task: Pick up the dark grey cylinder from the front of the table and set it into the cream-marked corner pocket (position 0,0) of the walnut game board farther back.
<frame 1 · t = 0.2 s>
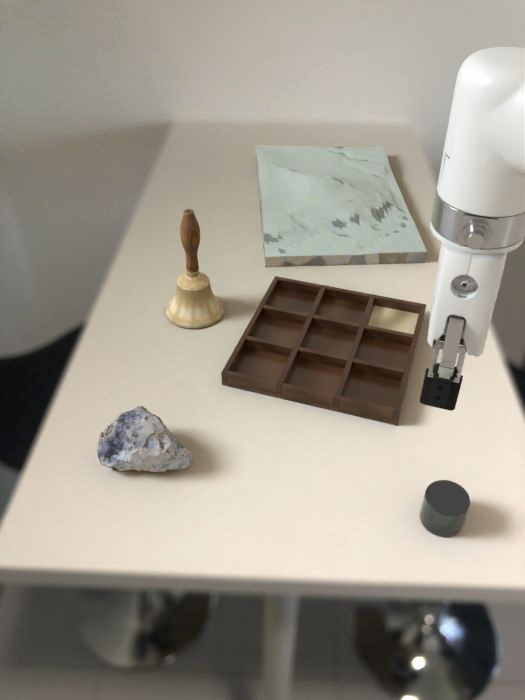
hand: (443, 371, 66), 14 cm above the table, tool pointing down, fingers open, 9 cm apart
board: (328, 348, 90), on the table
hand bell: (195, 312, 96), on the table
decorative slab: (324, 205, 119), on the table
mineral specimen: (143, 460, 75), on the table
dark grey cylinder: (441, 518, 69), on the table
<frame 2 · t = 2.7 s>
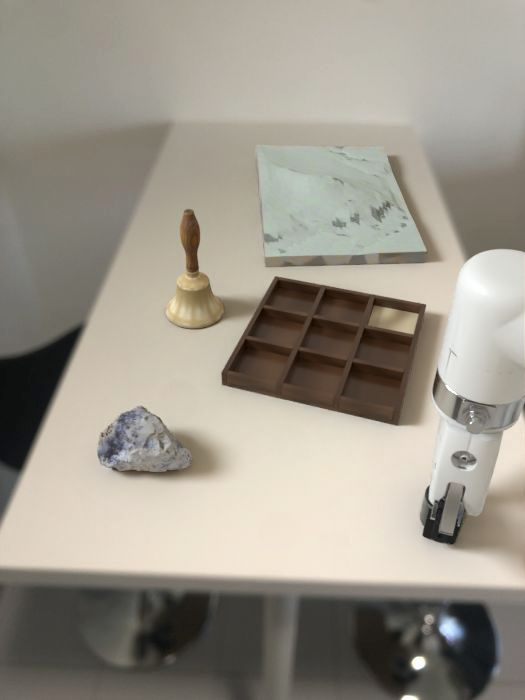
hand: (441, 516, 69), 0 cm above the table, tool pointing down, fingers closed on dark grey cylinder, 4 cm apart
dark grey cylinder: (441, 519, 69), on the table, touching gripper
everything else where it was.
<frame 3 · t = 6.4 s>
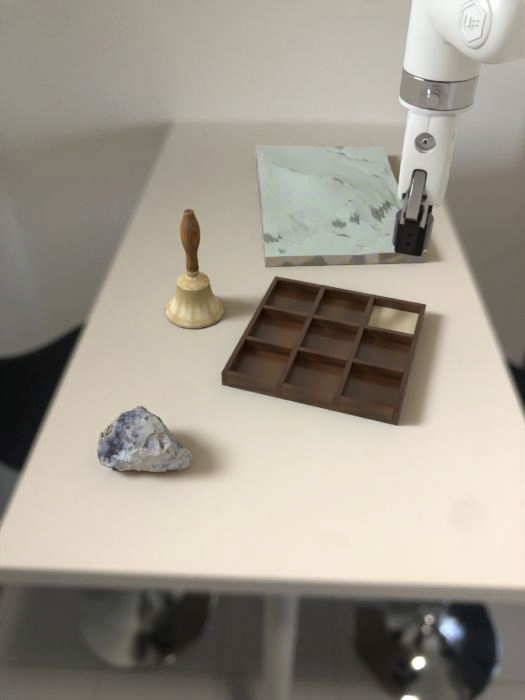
hand: (411, 240, 81), 16 cm above the table, tool pointing down, fingers closed on dark grey cylinder, 4 cm apart
dark grey cylinder: (410, 243, 81), point 15 cm above the table, touching gripper
everything else where it was.
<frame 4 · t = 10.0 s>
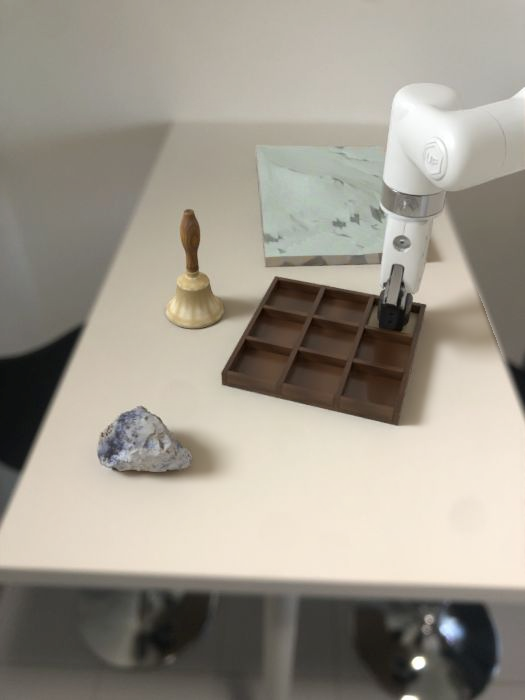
hand: (393, 316, 92), 2 cm above the table, tool pointing down, fingers closed on dark grey cylinder, 4 cm apart
dark grey cylinder: (392, 318, 92), point 2 cm above the table, touching gripper
everything else where it was.
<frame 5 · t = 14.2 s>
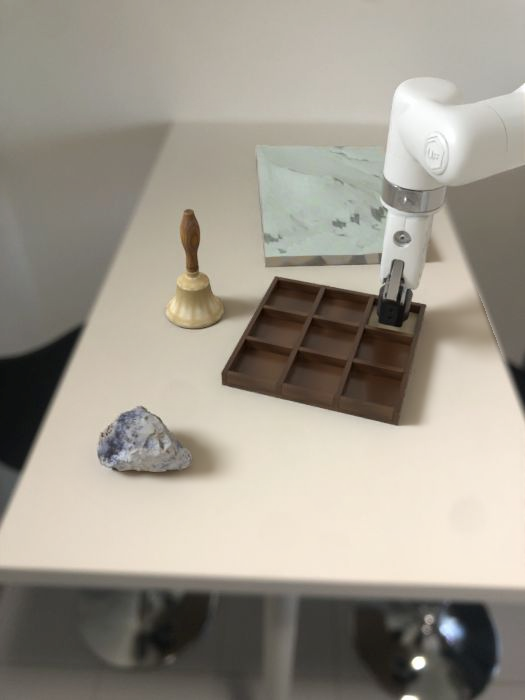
hand: (393, 311, 91), 3 cm above the table, tool pointing down, fingers closed on dark grey cylinder, 4 cm apart
dark grey cylinder: (392, 313, 92), point 2 cm above the table, touching gripper
everything else where it was.
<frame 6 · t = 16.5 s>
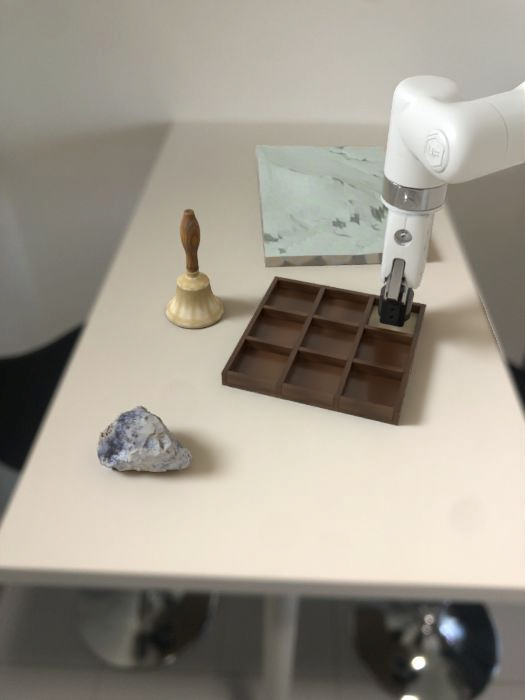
hand: (395, 311, 91), 3 cm above the table, tool pointing down, fingers closed on dark grey cylinder, 4 cm apart
dark grey cylinder: (394, 313, 91), point 2 cm above the table, touching gripper
everything else where it was.
when the fingers open (3 cm above the table, at t = 18.2 s): dark grey cylinder drops 2 cm, resting on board.
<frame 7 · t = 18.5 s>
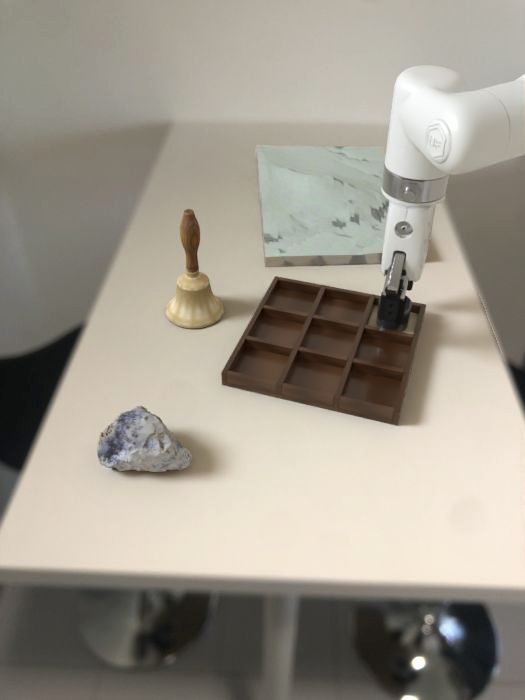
hand: (395, 302, 90), 4 cm above the table, tool pointing down, fingers open, 6 cm apart
dark grey cylinder: (392, 322, 93), point 1 cm above the table, touching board
everything else where it was.
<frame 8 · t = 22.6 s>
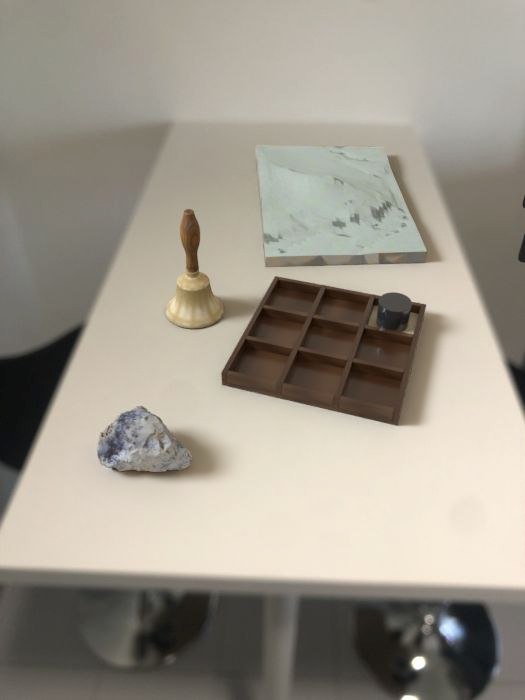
nothing on the table moved.
at the end: dark grey cylinder 0.1 cm from the target spot in the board, point 0.8 cm above the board's base; dark grey cylinder tilted 0°; the gripper is holding nothing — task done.
